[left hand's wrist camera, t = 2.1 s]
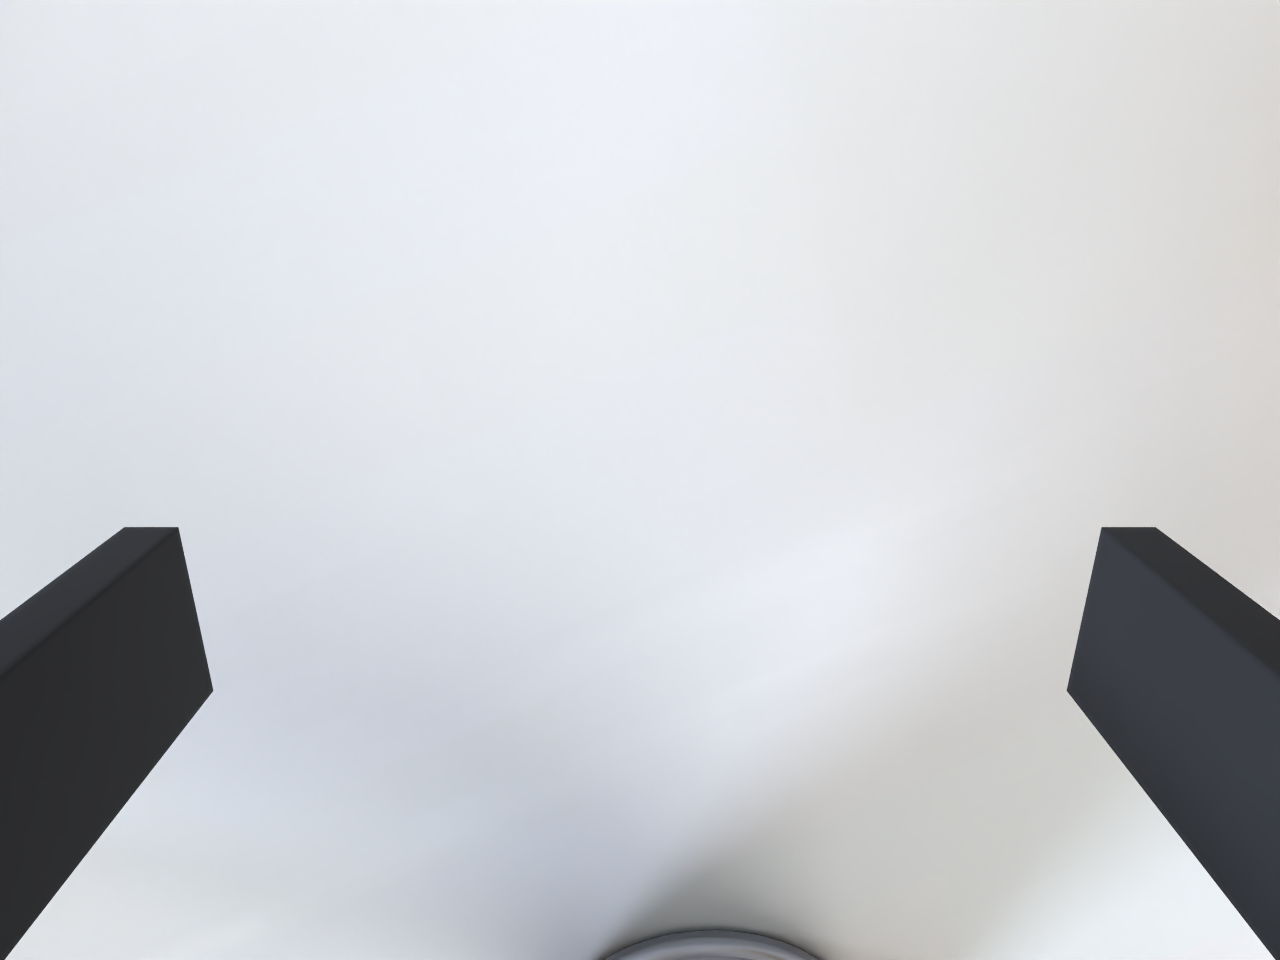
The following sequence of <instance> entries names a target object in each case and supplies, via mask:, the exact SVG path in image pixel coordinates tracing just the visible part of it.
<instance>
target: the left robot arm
mask: <svg viewBox="0 0 1280 960" xmlns="http://www.w3.org/2000/svg"><path fill="white" fill-rule="evenodd" d="M212 692H213V687H212V683H211V678H210V673H209V669H208V664H207V659H206V655H205V650H204V645H203V640H202V636H201V631H200V626H199V622H198V617H197V612H196V608H195V603H194V598H193V594H192V589H191V584H190V580H189V575H188V570H187V566H186V561H185V556H184V552H183V547H182V542H181V538H180V533H179V528H178V527H124V528H123V529H121V530H120V531H119V532H117V533H116V534H115V535H113V536H112V537H111V538H109V539H108V540H107V541H105V542H104V543H103V544H101V545H100V546H99V547H97V548H96V549H95V550H93V551H92V552H91V553H89V554H88V555H87V556H85V557H84V558H83V559H81V560H80V561H79V562H77V563H76V564H75V565H73V566H72V567H71V568H69V569H68V570H67V571H65V572H64V573H63V574H61V575H60V576H59V577H57V578H56V579H55V580H53V581H52V582H51V583H49V584H48V585H47V586H45V587H44V588H43V589H41V590H40V591H39V592H37V593H36V594H35V595H33V596H32V597H31V598H29V599H28V600H27V601H25V602H24V603H23V604H21V605H20V606H19V607H17V608H16V609H15V610H13V611H12V612H11V613H9V614H8V615H7V616H5V617H4V618H3V619H1V620H0V960H5V958H6V957H7V956H8V954H9V953H10V952H11V951H12V949H13V948H14V947H15V945H16V944H17V943H18V942H19V940H20V939H21V938H22V936H23V935H24V934H25V933H26V931H27V930H28V929H29V927H30V926H31V925H32V924H33V922H34V921H35V920H36V918H37V917H38V916H39V915H40V913H41V912H42V911H43V909H44V908H45V907H46V906H47V904H48V903H49V902H50V900H51V899H52V898H53V896H54V895H55V894H56V893H57V891H58V890H59V889H60V887H61V886H62V885H63V884H64V882H65V881H66V880H67V878H68V877H69V876H70V875H71V873H72V872H73V871H74V869H75V868H76V867H77V866H78V864H79V863H80V862H81V860H82V859H83V858H84V857H85V855H86V854H87V853H88V851H89V850H90V849H91V848H92V846H93V845H94V844H95V842H96V841H97V840H98V838H99V837H100V836H101V835H102V833H103V832H104V831H105V829H106V828H107V827H108V826H109V824H110V823H111V822H112V820H113V819H114V818H115V817H116V815H117V814H118V813H119V811H120V810H121V809H122V808H123V806H124V805H125V804H126V802H127V801H128V800H129V799H130V797H131V796H132V795H133V793H134V792H135V791H136V790H137V788H138V787H139V786H140V784H141V783H142V782H143V781H144V779H145V778H146V777H147V775H148V774H149V773H150V771H151V770H152V769H153V768H154V766H155V765H156V764H157V762H158V761H159V760H160V759H161V757H162V756H163V755H164V753H165V752H166V751H167V750H168V748H169V747H170V746H171V744H172V743H173V742H174V741H175V739H176V738H177V737H178V735H179V734H180V733H181V732H182V730H183V729H184V728H185V726H186V725H187V724H188V723H189V721H190V720H191V719H192V717H193V716H194V715H195V713H196V712H197V711H198V710H199V708H200V707H201V706H202V704H203V703H204V702H205V701H206V699H207V698H208V697H209V695H210V694H211V693H212ZM1067 692H1068V693H1069V694H1070V695H1071V697H1072V698H1073V699H1074V701H1075V702H1076V703H1077V704H1078V706H1079V707H1080V708H1081V710H1082V711H1083V712H1084V713H1085V715H1086V716H1087V717H1088V719H1089V720H1090V721H1091V723H1092V724H1093V725H1094V726H1095V728H1096V729H1097V730H1098V732H1099V733H1100V734H1101V735H1102V737H1103V738H1104V739H1105V741H1106V742H1107V743H1108V744H1109V746H1110V747H1111V748H1112V750H1113V751H1114V752H1115V753H1116V755H1117V756H1118V757H1119V759H1120V760H1121V761H1122V762H1123V764H1124V765H1125V766H1126V768H1127V769H1128V770H1129V771H1130V773H1131V774H1132V775H1133V777H1134V778H1135V779H1136V781H1137V782H1138V783H1139V784H1140V786H1141V787H1142V788H1143V790H1144V791H1145V792H1146V793H1147V795H1148V796H1149V797H1150V799H1151V800H1152V801H1153V802H1154V804H1155V805H1156V806H1157V808H1158V809H1159V810H1160V811H1161V813H1162V814H1163V815H1164V817H1165V818H1166V819H1167V820H1168V822H1169V823H1170V824H1171V826H1172V827H1173V828H1174V829H1175V831H1176V832H1177V833H1178V835H1179V836H1180V837H1181V838H1182V840H1183V841H1184V842H1185V844H1186V845H1187V846H1188V848H1189V849H1190V850H1191V851H1192V853H1193V854H1194V855H1195V857H1196V858H1197V859H1198V860H1199V862H1200V863H1201V864H1202V866H1203V867H1204V868H1205V869H1206V871H1207V872H1208V873H1209V875H1210V876H1211V877H1212V878H1213V880H1214V881H1215V882H1216V884H1217V885H1218V886H1219V887H1220V889H1221V890H1222V891H1223V893H1224V894H1225V895H1226V896H1227V898H1228V899H1229V900H1230V902H1231V903H1232V904H1233V906H1234V907H1235V908H1236V909H1237V911H1238V912H1239V913H1240V915H1241V916H1242V917H1243V918H1244V920H1245V921H1246V922H1247V924H1248V925H1249V926H1250V927H1251V929H1252V930H1253V931H1254V933H1255V934H1256V935H1257V936H1258V938H1259V939H1260V940H1261V942H1262V943H1263V944H1264V945H1265V947H1266V948H1267V949H1268V951H1269V952H1270V953H1271V954H1272V956H1273V957H1274V958H1275V960H1280V620H1279V619H1277V618H1276V617H1275V616H1273V615H1272V614H1271V613H1269V612H1268V611H1267V610H1265V609H1264V608H1263V607H1261V606H1260V605H1259V604H1257V603H1256V602H1255V601H1253V600H1252V599H1251V598H1249V597H1248V596H1247V595H1245V594H1244V593H1243V592H1241V591H1240V590H1239V589H1237V588H1236V587H1235V586H1233V585H1232V584H1231V583H1229V582H1228V581H1227V580H1225V579H1224V578H1223V577H1221V576H1220V575H1219V574H1217V573H1216V572H1215V571H1213V570H1212V569H1211V568H1209V567H1208V566H1207V565H1205V564H1204V563H1203V562H1201V561H1200V560H1199V559H1197V558H1196V557H1195V556H1193V555H1192V554H1191V553H1189V552H1188V551H1187V550H1185V549H1184V548H1183V547H1181V546H1180V545H1179V544H1177V543H1176V542H1175V541H1173V540H1172V539H1171V538H1169V537H1168V536H1167V535H1165V534H1164V533H1163V532H1161V531H1160V530H1159V529H1157V528H1156V527H1102V528H1101V533H1100V538H1099V542H1098V547H1097V552H1096V556H1095V561H1094V566H1093V570H1092V575H1091V580H1090V584H1089V589H1088V594H1087V598H1086V603H1085V608H1084V612H1083V617H1082V622H1081V626H1080V631H1079V636H1078V640H1077V645H1076V650H1075V655H1074V659H1073V664H1072V669H1071V673H1070V678H1069V683H1068V687H1067ZM604 960H818V959H817V958H815V957H813V956H812V955H810V954H808V953H807V952H805V951H803V950H800V949H798V948H796V947H794V946H792V945H789V944H787V943H784V942H781V941H778V940H775V939H771V938H768V937H764V936H760V935H755V934H750V933H743V932H735V931H719V930H707V931H690V932H681V933H675V934H669V935H664V936H660V937H656V938H652V939H649V940H646V941H643V942H640V943H637V944H634V945H632V946H630V947H627V948H625V949H622V950H620V951H619V952H617V953H615V954H613V955H611V956H609V957H607V958H606V959H604Z"/></svg>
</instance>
